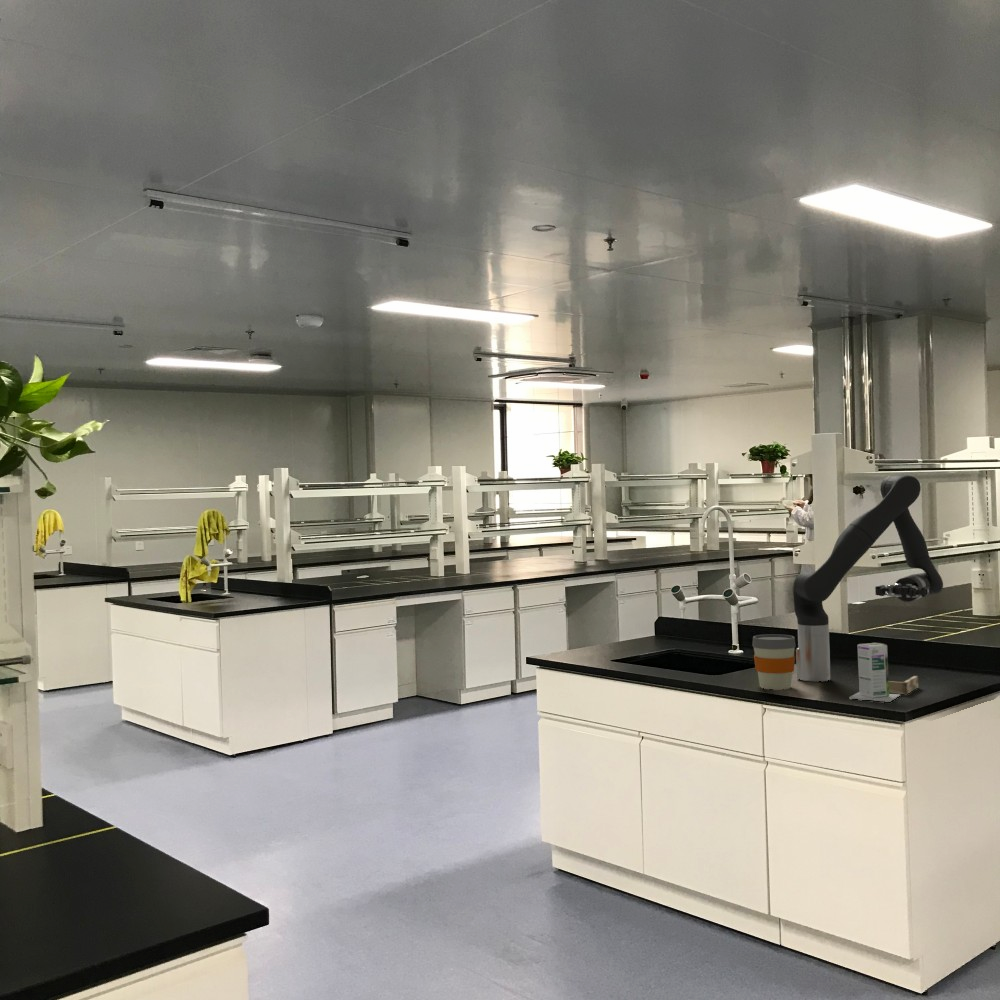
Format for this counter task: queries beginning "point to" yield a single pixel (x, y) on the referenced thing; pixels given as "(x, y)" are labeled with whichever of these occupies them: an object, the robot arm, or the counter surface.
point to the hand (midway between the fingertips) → (895, 592)
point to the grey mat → (886, 699)
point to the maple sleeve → (903, 686)
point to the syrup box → (873, 670)
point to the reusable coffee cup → (774, 660)
